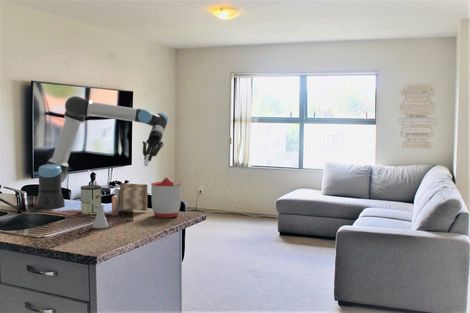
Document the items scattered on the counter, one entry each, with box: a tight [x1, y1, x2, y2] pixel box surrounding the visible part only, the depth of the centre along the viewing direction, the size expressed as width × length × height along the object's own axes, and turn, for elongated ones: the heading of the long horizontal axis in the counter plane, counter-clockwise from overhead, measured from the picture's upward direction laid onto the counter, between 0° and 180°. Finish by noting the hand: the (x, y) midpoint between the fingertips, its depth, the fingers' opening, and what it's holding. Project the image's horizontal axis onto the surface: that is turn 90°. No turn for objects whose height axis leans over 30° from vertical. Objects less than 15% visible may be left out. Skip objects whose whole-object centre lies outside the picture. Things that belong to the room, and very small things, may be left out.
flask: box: [92, 204, 109, 229], centre depth 210 cm, size 7×7×10 cm
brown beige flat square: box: [119, 182, 148, 212], centre depth 247 cm, size 15×2×14 cm, turn 78°
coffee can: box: [80, 184, 102, 215], centre depth 242 cm, size 10×10×14 cm
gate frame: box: [111, 188, 121, 217], centre depth 243 cm, size 15×3×12 cm, turn 6°
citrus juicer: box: [150, 177, 183, 219], centre depth 237 cm, size 16×17×20 cm
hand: (145, 164), depth 259 cm, fingers closed
